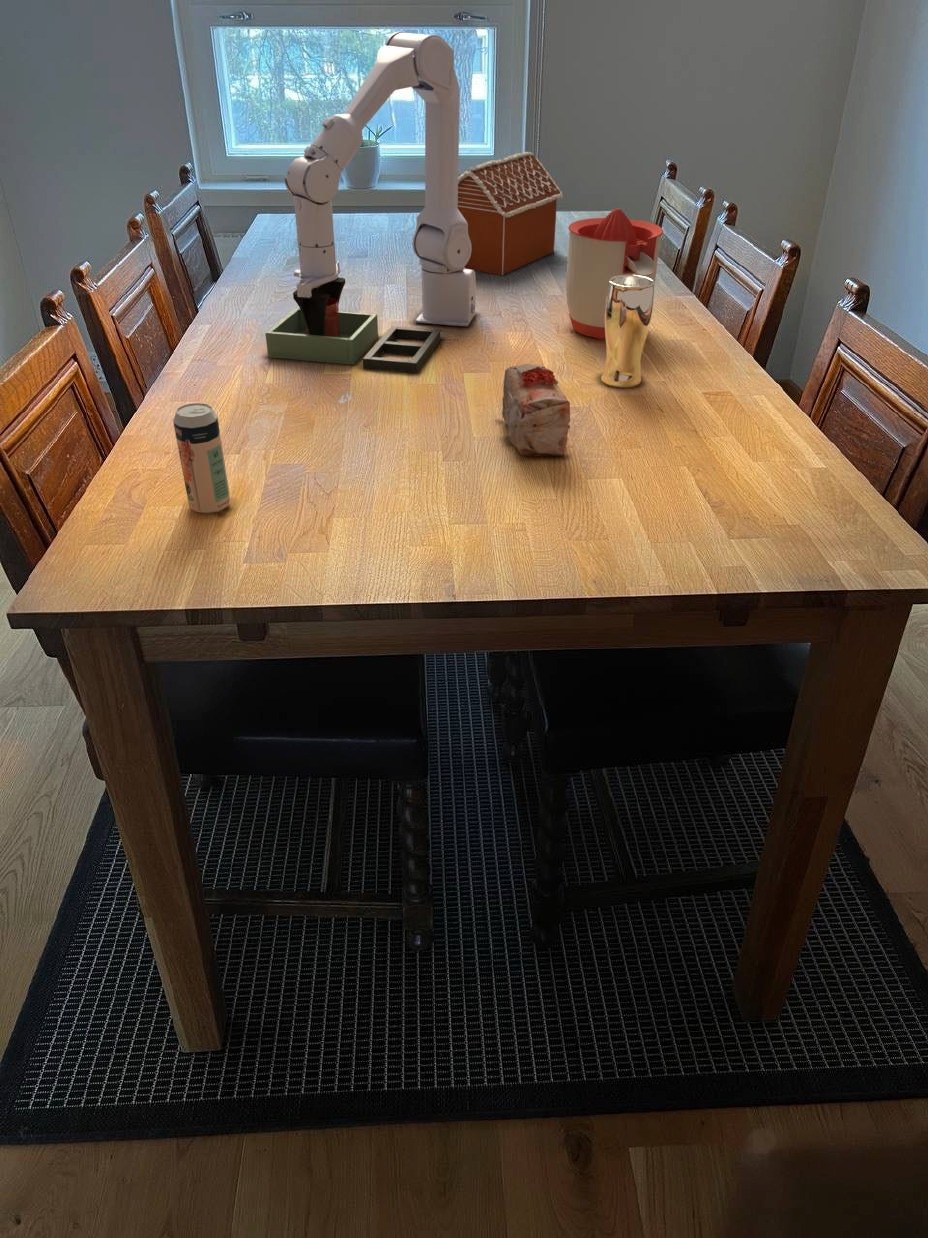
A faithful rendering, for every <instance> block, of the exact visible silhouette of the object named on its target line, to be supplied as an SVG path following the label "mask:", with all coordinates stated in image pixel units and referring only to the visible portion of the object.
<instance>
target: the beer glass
mask: <svg viewBox="0 0 928 1238" xmlns="http://www.w3.org/2000/svg"><path fill="white" fill-rule="evenodd" d="M654 283H655V284H656V281H655V282H654V280H652V279H650V278H648V277H644V276H639V275H618V276H614V277H612V278H610V279H609V286H608V292H607V298H606V305H605V317H604V319H605V338H606V339H605V351H606V352H605V363H604V367H603V370H602V373H601V377H600V379H601V381H602V382H603V384H604V385H607V386H610V387H615V388H633V387H637V386H638V385H639V384H640V383H641V382H642V370H641V361H642V354H643V350H644V347H645V344H646V340H647V337H648V334H649V330H650V328H651V327H650V326H651V323H652V318H653V317H652V316H653V312H654V311H653V310H654V301H655V300H654V298H655V297H654V296H655V285H654Z"/></svg>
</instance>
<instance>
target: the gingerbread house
mask: <svg viewBox="0 0 928 1238" xmlns="http://www.w3.org/2000/svg"><path fill="white" fill-rule="evenodd" d="M563 196H564V194H563V191H561V189H560V187H559V186H558V185H557V184H556V181H554V179H553V177H552V176H551V174H549V171H547V170H546V168H545V166H544V165H543V163H542V162H541V161H540V160H539V158H537V157H536V156H535V155H534V153H533V152H531V151H524V152H519V153H517V152H516V153H514V154H511V155H509V156H507V157H504V158H501V159H497V160H496V159H493V160H491V159H490V160H489V161H486V162H483V163H480V164H477V165H475V166H470V167H469V169H467V170H466V171H464V173H461V174H460V175H459V176H458V207H457V208H458V210H459V211H460V213H461V214H462V216H463V217H464V219H465V220H466V221H467V223H468V235H469V238H470V241H471V246H472V251H471V256H470V259H469V261H468V262H467V264H466V265H465V269H470V270H474V271H478V272H484V273H488V274H494V275H499V276H504V275H505V274H508V273H509V272H510V273H511V272H512V271H514V270H516V269H518V268H521V267H523V266H526V265H528V264H530V263H531V262H532V263H533V262H534V261H536V260H539V259H541V258H543V257H545V256H548V255H550V254H552V253H554V252H555V241H556V225H557V207H558V200H559V199H560V200H563Z"/></svg>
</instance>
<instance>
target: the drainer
mask: <svg viewBox="0 0 928 1238" xmlns="http://www.w3.org/2000/svg"><path fill="white" fill-rule="evenodd" d="M396 338H399V339H411V340H423V341H424V343H413V342H399V341H395V340H396ZM441 339H442V330H441V329H430V328H418V327H406V326H405V327H404V326H394V325H392V326H390V327H389V329H387V331H386V332H385V333H384V334H383V335H382V336H381V337H380V339H378V340H377V342H376V343H375V344H374V345H373V347H371V348H370V350H368V352H367V353H366V354H365V355H364V357H363V358H362V368H364V369H373V370H374V369H375V370H385V371H396V372H397V371H398V372H407V373H408V372H409V373H418V371H419V370H420V369H421V367H422V366H423V364H425V361H426V360H427V358H428V357H429V356H430V355H431V354H432V352H433V350H434V349H435V348H436V346H437V345H438V344H439V342H440V341H441ZM384 353H388V354H399V355H409V356H410V355H411V356H413V357H412V358H411V359H403V358H401V359H400V358H389V357H381V356H382V355H383V354H384Z"/></svg>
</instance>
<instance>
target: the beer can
mask: <svg viewBox="0 0 928 1238" xmlns="http://www.w3.org/2000/svg"><path fill="white" fill-rule="evenodd" d="M172 423H173V428H174V429H173V430H174V434H175V438H176V445H177V449H178V454H179V460H180V465H181V470H182V471H181V472H182V475H183V481H184V486H185V492H186V497H187V502H188V507H189V509H191V510H192V511H194V512H197V513H199V514H204V515H205V514H207V515H208V514H216V513H219V512H221V511H223V510H224V509H225V508H227V507H228V506H229V505H230V504H231V502H232V501H231V494H230V487H229V480H228V475H227V469H226V468H227V467H226V461H225V456H224V455H225V454H224V449H223V444H222V443H223V442H222V437H221V436H222V435H221V430H220V424H219V418H218V414H217V413H216V411H215V410H214V409H213V407H212V406H211V405H209V404H207V403H200V402H193V403H187V404H186V403H185V404H183V405H181V406H179V407H177V408H176V411H175V414H174V417H172Z"/></svg>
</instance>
